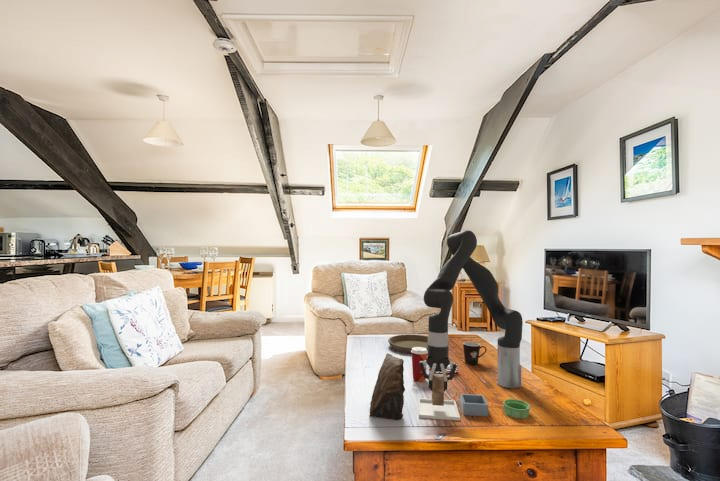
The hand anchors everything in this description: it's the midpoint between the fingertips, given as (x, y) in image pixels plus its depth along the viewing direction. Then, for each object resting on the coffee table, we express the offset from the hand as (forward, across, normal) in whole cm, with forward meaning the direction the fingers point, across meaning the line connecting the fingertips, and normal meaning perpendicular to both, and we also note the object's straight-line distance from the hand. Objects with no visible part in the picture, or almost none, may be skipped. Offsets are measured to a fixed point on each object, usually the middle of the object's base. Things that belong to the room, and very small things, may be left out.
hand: (437, 390), depth 135 cm
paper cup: (+8, +6, -33) cm, 34 cm away
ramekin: (+9, -28, -2) cm, 29 cm away
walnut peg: (+5, 0, 0) cm, 5 cm away
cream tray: (+8, 0, 0) cm, 8 cm away
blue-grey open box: (+8, -13, -2) cm, 16 cm away
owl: (+9, +19, +3) cm, 21 cm away
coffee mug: (+8, -23, -61) cm, 66 cm away
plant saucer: (+9, +8, -86) cm, 87 cm away
